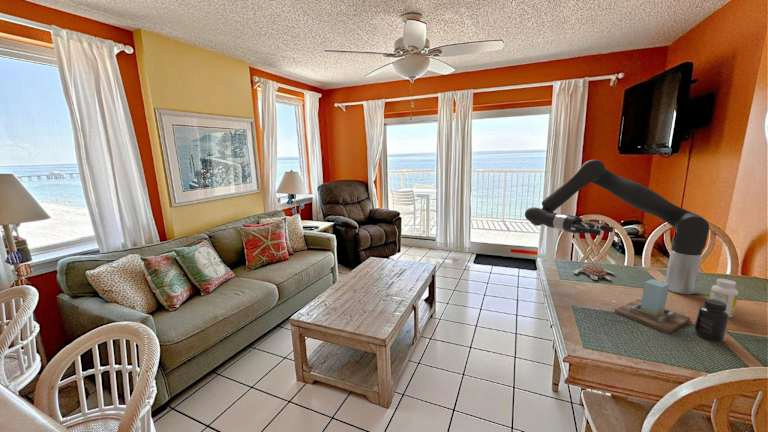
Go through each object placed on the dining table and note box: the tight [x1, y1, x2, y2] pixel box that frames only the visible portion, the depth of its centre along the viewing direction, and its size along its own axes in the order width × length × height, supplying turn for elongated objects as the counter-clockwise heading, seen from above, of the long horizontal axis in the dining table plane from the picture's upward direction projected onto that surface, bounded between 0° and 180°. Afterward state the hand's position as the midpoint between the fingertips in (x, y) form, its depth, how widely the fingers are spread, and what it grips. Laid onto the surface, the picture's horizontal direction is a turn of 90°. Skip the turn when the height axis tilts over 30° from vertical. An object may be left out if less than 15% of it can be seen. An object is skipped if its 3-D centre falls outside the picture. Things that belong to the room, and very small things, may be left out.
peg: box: [640, 278, 669, 317], centre depth 111 cm, size 5×5×12 cm
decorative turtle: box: [572, 263, 615, 281], centre depth 149 cm, size 18×17×5 cm
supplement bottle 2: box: [693, 298, 730, 342], centre depth 99 cm, size 7×7×12 cm
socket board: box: [614, 298, 692, 335], centre depth 112 cm, size 16×16×3 cm
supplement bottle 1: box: [708, 278, 739, 318], centre depth 112 cm, size 7×7×13 cm
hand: (606, 231), depth 123 cm, fingers open, 8 cm apart
